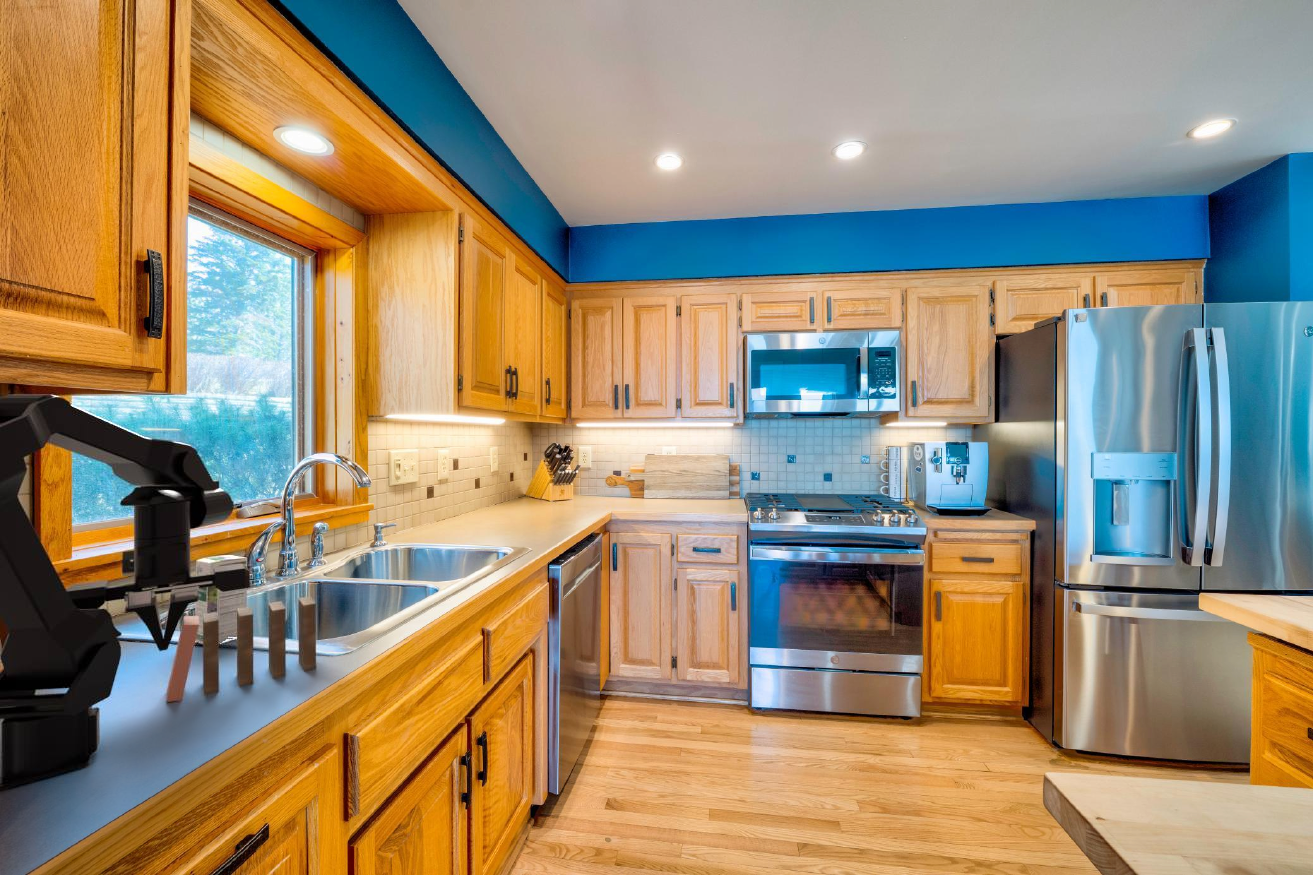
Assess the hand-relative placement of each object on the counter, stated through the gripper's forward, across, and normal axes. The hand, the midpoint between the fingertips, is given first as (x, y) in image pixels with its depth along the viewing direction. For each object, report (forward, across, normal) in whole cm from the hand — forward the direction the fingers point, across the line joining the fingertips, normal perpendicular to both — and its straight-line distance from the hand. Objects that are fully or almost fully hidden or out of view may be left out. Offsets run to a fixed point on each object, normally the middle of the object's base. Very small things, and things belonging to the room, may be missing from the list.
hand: (163, 649), depth 75 cm
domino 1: (+6, -1, 0) cm, 7 cm away
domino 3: (+7, -9, 0) cm, 11 cm away
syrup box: (+7, -7, -23) cm, 25 cm away
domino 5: (+7, -17, 0) cm, 18 cm away
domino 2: (+7, -5, 0) cm, 8 cm away
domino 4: (+7, -13, 0) cm, 14 cm away
